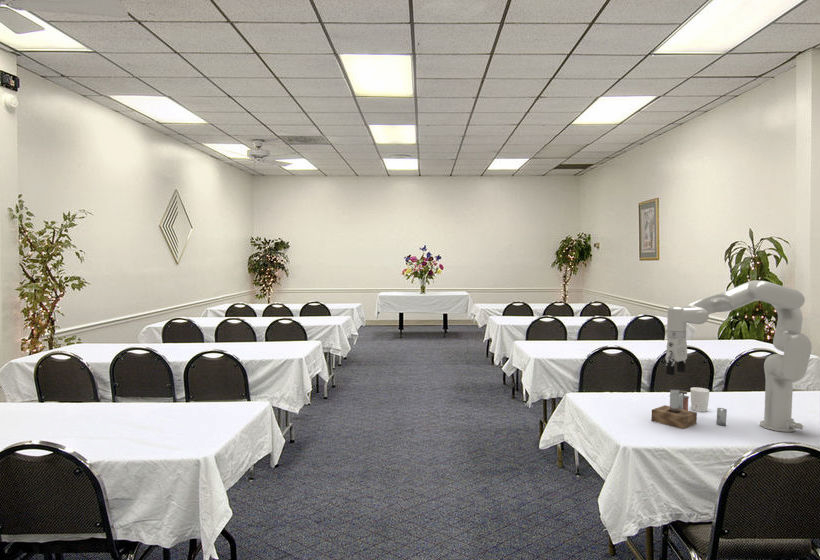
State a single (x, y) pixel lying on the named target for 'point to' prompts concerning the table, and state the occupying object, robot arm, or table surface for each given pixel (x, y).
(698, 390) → the white cup
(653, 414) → the socket block
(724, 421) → the short pin
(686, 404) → the silver copper upright piece
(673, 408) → the long pin
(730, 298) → the robot arm
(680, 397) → the medium pin
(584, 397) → the table surface
